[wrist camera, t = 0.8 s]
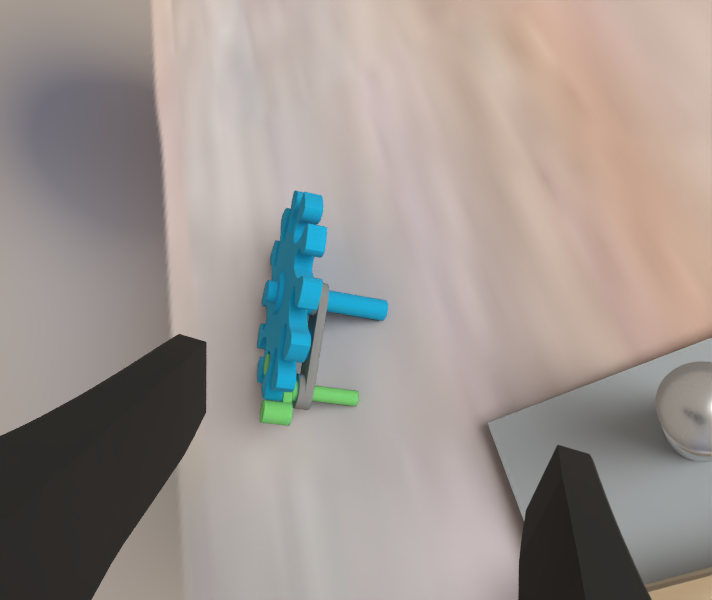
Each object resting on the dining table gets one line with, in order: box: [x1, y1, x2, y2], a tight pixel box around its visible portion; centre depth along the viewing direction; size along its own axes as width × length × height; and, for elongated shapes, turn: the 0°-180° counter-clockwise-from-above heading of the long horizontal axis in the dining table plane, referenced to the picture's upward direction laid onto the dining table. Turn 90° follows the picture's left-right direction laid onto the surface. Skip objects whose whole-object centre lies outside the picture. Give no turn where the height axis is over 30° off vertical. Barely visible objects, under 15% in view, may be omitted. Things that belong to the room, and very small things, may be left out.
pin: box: [655, 361, 712, 462], centre depth 21 cm, size 2×2×8 cm
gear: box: [257, 191, 388, 426], centre depth 31 cm, size 11×6×10 cm
